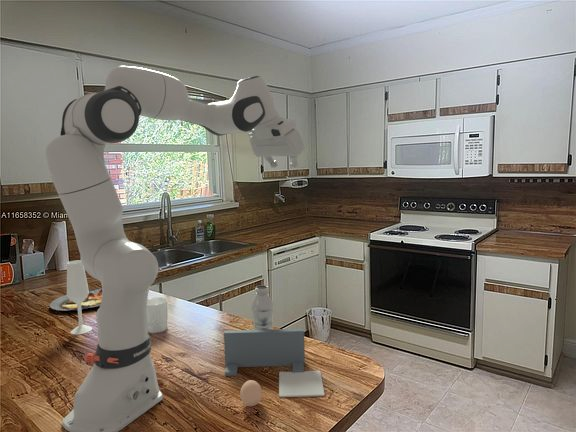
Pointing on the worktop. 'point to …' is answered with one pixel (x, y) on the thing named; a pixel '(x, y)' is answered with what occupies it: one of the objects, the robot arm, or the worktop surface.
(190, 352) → the worktop surface
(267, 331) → the slate screen
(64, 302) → the food plate
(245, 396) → the egg
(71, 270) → the champagne flute
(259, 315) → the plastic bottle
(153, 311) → the white cup
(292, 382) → the grey mat
